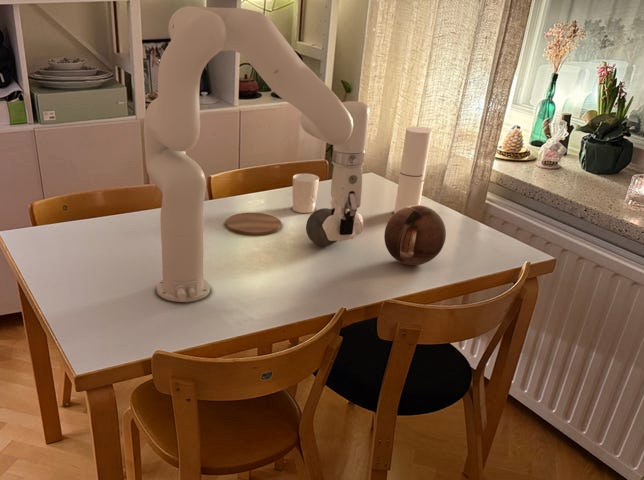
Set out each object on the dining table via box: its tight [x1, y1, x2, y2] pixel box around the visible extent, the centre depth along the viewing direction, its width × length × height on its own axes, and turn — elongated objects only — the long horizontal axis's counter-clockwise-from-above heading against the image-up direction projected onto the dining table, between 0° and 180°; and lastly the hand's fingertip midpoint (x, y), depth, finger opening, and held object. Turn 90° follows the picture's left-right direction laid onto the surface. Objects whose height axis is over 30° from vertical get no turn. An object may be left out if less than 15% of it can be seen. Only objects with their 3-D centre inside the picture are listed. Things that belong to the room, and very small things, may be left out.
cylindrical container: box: [393, 126, 433, 215], centre depth 205 cm, size 7×7×25 cm
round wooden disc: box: [225, 212, 282, 237], centre depth 202 cm, size 16×16×1 cm
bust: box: [322, 197, 364, 243], centre depth 173 cm, size 12×8×11 cm
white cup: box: [291, 173, 320, 214], centre depth 211 cm, size 8×8×10 cm
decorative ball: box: [305, 207, 338, 247], centre depth 188 cm, size 10×10×10 cm
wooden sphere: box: [383, 204, 447, 266], centre depth 176 cm, size 15×15×15 cm
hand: (341, 228), depth 174 cm, fingers closed on bust, 7 cm apart
